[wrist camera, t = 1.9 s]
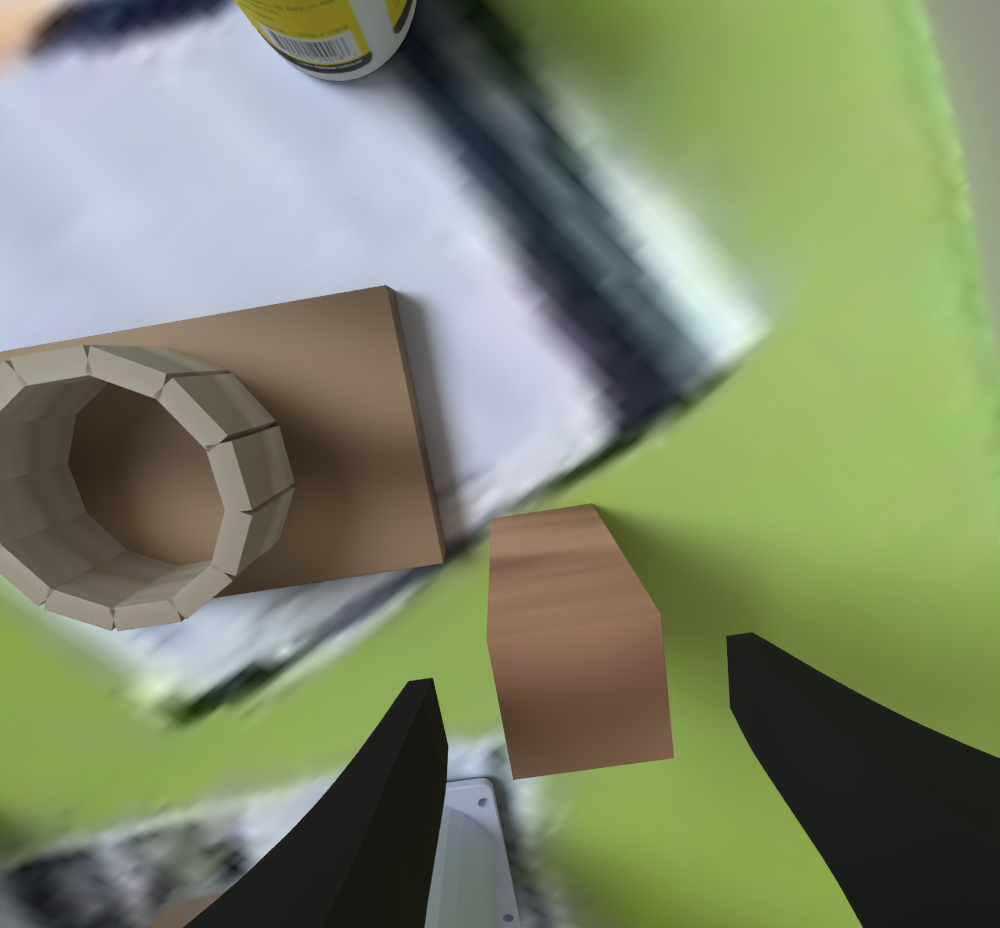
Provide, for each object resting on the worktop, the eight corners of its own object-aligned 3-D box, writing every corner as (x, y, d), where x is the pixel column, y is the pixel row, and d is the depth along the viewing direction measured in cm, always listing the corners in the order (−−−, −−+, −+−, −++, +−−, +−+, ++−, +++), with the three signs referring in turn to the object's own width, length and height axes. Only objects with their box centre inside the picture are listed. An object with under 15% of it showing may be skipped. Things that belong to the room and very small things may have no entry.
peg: (602, 594, 19) (673, 757, 11) (507, 608, 19) (513, 779, 12) (591, 503, 18) (660, 613, 11) (491, 518, 18) (486, 639, 11)
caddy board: (446, 550, 19) (432, 604, 15) (112, 601, 19) (8, 667, 15) (393, 289, 16) (359, 268, 12) (16, 354, 17) (-137, 355, 13)
